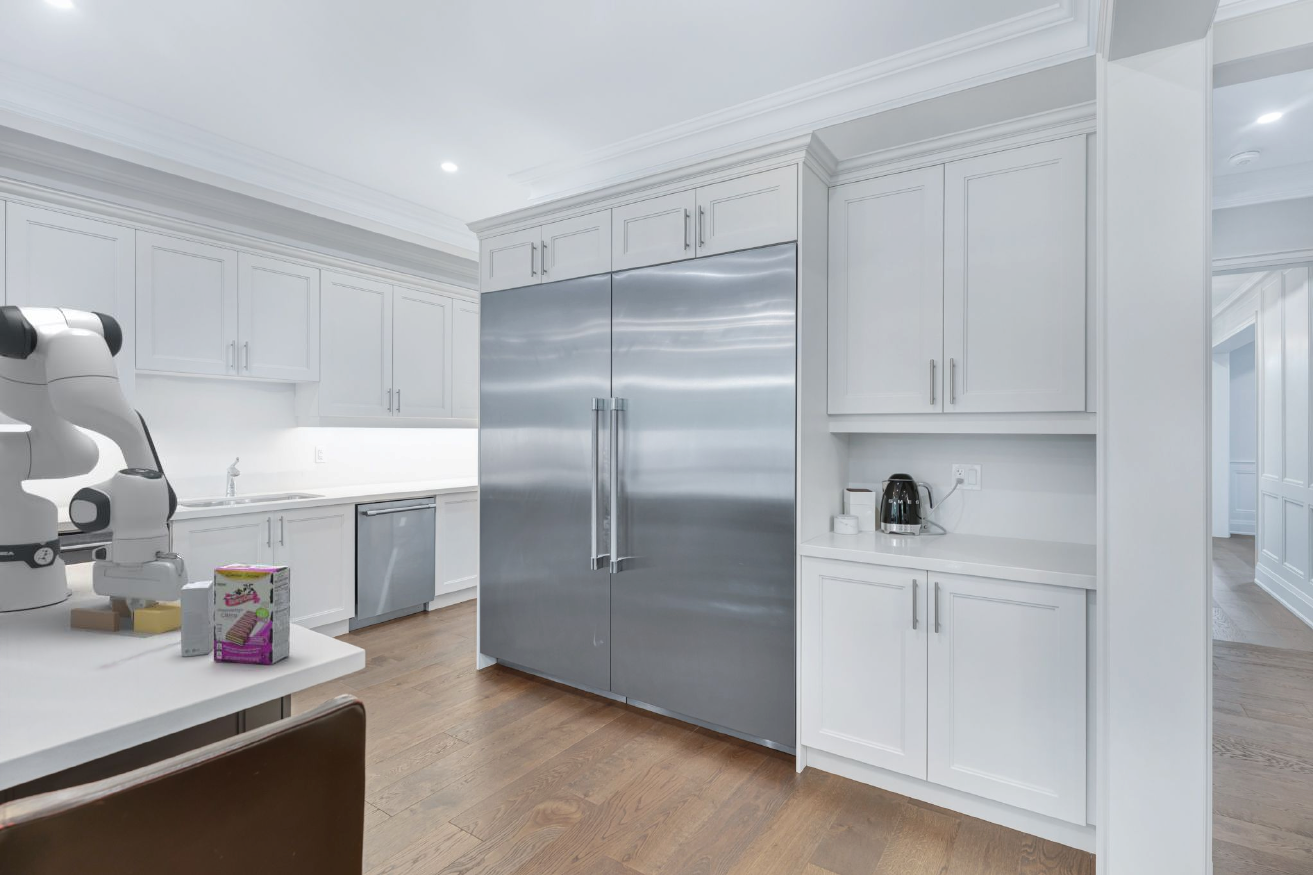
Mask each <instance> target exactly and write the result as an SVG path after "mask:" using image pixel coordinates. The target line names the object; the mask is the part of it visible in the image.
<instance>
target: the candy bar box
mask: <svg viewBox="0 0 1313 875" xmlns="http://www.w3.org/2000/svg"><path fill="white" fill-rule="evenodd" d="M213 572H214V574H213V575H214V577H213V579H214V581H213V592H214V647H213V662H222V663H223V662H225V663H240V664H255V665H256V664H257V665H274V664H277V663H278V662H280V661H282V660H283V659H285V658H287V657H289V656H290V644H291V642H290V635H291V634H290V629H291V628H290V627H291V626H290V618H291V616H290V610H291V600H290V598H291V565H277V564H276V565H275V564H274V565H272V564H257V563H256V564H254V563H253V564H252V563H229V564H226V565H222V566H218V567H217V568H214V570H213Z"/></svg>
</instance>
